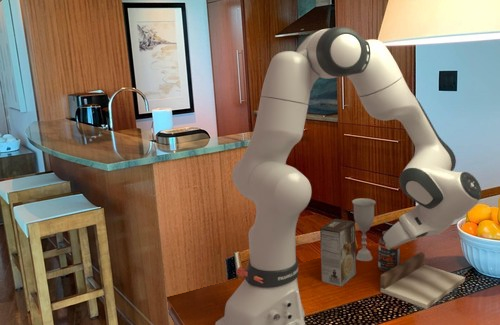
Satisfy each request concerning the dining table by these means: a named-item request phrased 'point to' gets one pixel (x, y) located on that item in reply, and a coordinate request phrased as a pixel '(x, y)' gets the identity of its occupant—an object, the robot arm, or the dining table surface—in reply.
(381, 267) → the supplement bottle
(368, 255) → the chalice
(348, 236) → the coffee box
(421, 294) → the edge board
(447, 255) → the dining table surface
